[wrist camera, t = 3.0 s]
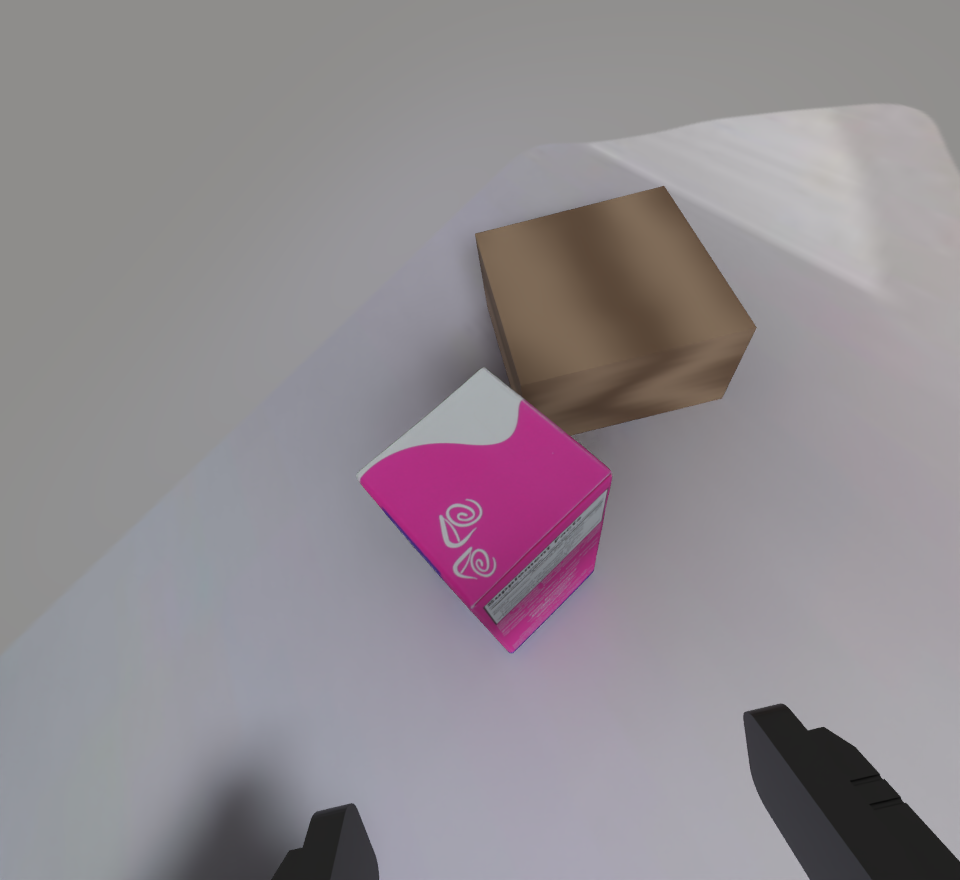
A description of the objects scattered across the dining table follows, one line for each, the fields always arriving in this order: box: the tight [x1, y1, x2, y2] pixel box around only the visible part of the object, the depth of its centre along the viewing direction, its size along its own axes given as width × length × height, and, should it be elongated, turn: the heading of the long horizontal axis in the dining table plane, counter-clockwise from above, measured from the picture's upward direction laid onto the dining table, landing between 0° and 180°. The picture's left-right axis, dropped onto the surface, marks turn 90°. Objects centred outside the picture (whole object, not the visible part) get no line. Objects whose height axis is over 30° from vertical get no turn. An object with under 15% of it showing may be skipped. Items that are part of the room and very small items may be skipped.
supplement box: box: [356, 367, 612, 653], centre depth 20 cm, size 6×6×12 cm
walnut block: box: [475, 186, 757, 436], centre depth 29 cm, size 11×11×6 cm
